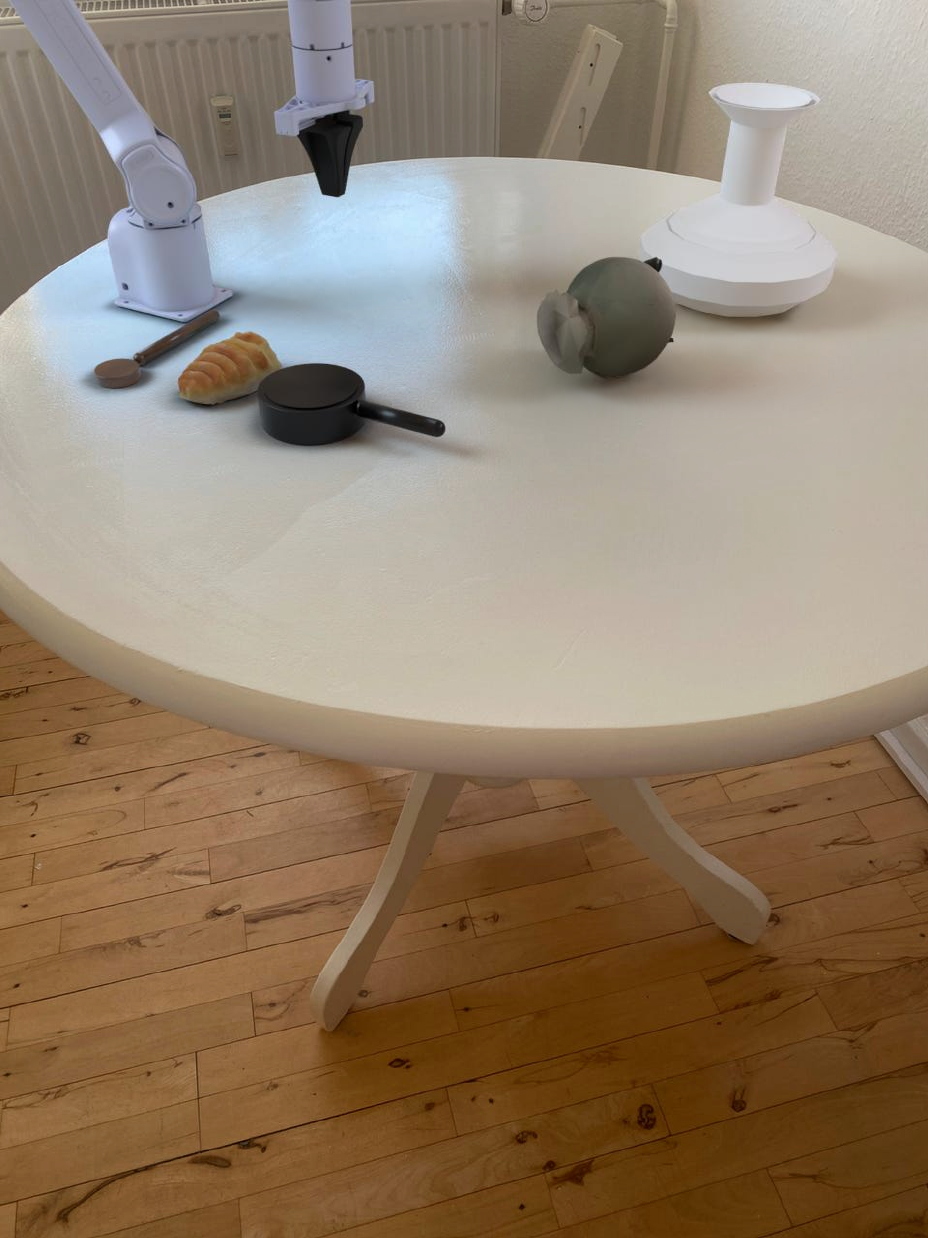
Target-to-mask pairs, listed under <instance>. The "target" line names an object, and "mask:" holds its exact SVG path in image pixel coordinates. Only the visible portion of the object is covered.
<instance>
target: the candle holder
mask: <svg viewBox="0 0 928 1238" xmlns="http://www.w3.org/2000/svg"><path fill="white" fill-rule="evenodd" d="M708 94H709V96H710V98H711V99H712V100H713V101H714V102H715V103H716V104H717V105H718V106H719V108H720V109H721V110H722V111H723V112H724V114H726V116H727V117H729V119H730V124H729V129H728V130H729V131H728V137H727V141H726V142H727V143H726V147H725V148H726V149H725V155H724V161H723V167H722V168H723V169H722V173H721V180H720V186H719V192H717V193H715V194H712V195H710V196H707V197H705V198H703V199H700V200H699V201H696V202H694V203H691V204H688V205H685V206H684V207H682V208H680V209H676V210H674V211H672V212H670V214H668V215H667V216H664V218H662V219H660V220H658V221H656V222H655V223H653V224H652V225H651V226H649V228H647V229H646V230H645V231H644V232H643V233H642V234H641V236H639V243H638V254H637V260H640V261H642V262H644V261H646V260H649V259H652V258H655V257H657V258H658V259H661V260H662V268H661V270H660V272H659V274H660V275H661V276H662V277H663V279H664V280H665V281H666V283H667V284H668V286H669V288H670V290H671V293H672V295H673V299H674V302H675V304H678V305H681V306H683V307H686V308H689V309H692V310H695V311H697V312H701V313H706V314H712V315H717V316H722V317H728V318H729V317H730V318H731V317H735V318H737V317H739V318H741V317H742V318H746V317H747V318H758V317H765V316H771V315H778V314H782V313H784V312H786V311H789V310H790V309H792V308H795V307H796V306H798V305H801V304H802V303H804V302H806V301H807V300H810V299H812V298H813V297H815V296H817V295H819V294H821V293H823V292H825V291H826V290H827V287H828V286H829V284H830V282H831V281H832V279H833V277H834V271H835V268H836V263H837V259H838V254H839V253H838V252H837V251H836V249H835V248H834V247H833V245H832V243H830V241H829V240H828V239H827V238H826V237H825V236H824V235H823V234H822V233H821V232H820V231H819V230H818V229H817V228H816V227H815V226H814V225H813V224H812V222H810V221H808V220H806V219H805V218H804V217H803V216H802V215H800V214H799V213H797V212H796V211H794V210H793V209H792V208H790V207H789V206H787V205H786V204H784V203H783V202H781V201H780V200H779V199H778V198H776V197H775V193H776V189H777V188H776V187H777V183H778V177H779V172H780V168H781V162H782V156H783V152H784V146H785V141H786V136H787V130H788V124H790V123H791V122H793V121H794V120H795V119H797V118H799V117H800V116H801V115H803V114H804V113H806V112H807V111H809V110H811V109H812V108H814V107H815V106H816V105H817V104H819V102H820V101H821V98H820V97H819V96H818V95H817V94H816V93H814V92H812V91H809V90H808V89H804V88H801V87H798V86H797V87H796V86H793V85H792V86H790V85H786V84H779V83H769V82H736V83H726V84H722V85H719V86H718V85H717V86H715V87H713V88H711V90H710V91H708Z"/></svg>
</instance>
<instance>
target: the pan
mask: <svg viewBox="0 0 928 1238" xmlns="http://www.w3.org/2000/svg"><path fill="white" fill-rule="evenodd" d="M256 394H257V400H258V401H257V402H258V408H259V415H260V423H261V426H262V429H263V430H264V432H266V434H268V435H269V436H270V437H272V438H274V439H275V440H278V441H280V442H284V443H287V444H292V445H298V446H299V445H300V446H318V445H327V444H331V443H337V442H339V441H342V440H345V439H347V438H349V437H351V436H353V435H355V434H356V433H358V432H359V431H360V430H361V429H363V427H364V426H365V424H366V421H367V420H369V421H373V422H377V423H381V424H385V425H389V426H392V427H396V428H400V429H404V430H408V431H411V432H414V433H417V434H422V435H426V436H430V437H433V438H440V437H442V436H443V435H444V434H445V433H446V424H445V423H444V421H442V420H441V419H437V418H433V417H429V416H426V415H421V414H419V413H414V412H411V411H407V410H402V409H400V408H395V407H392V406H388V405H383V404H380V403H376V402H373V401H369V400H367V397H366V396H367V395H366V384H365V380H364V379H363V377H362V376H361V375H360V374H359V373H358V372H356V371H355V370H352V369H351V368H348V367H346V366H342V365H337V364H333V363H324V362H323V363H322V362H310V363H309V362H308V363H300V364H299V363H298V364H295V365H290V366H286V367H282V369H280V370H277V371H275V372H273V373H271V374H270V375H268V376H267V377H265V378H264V379H263V380H262V381H261V382H260V384H259V386H258V389H257V391H256Z"/></svg>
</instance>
